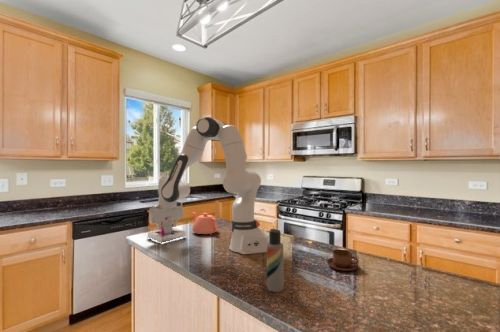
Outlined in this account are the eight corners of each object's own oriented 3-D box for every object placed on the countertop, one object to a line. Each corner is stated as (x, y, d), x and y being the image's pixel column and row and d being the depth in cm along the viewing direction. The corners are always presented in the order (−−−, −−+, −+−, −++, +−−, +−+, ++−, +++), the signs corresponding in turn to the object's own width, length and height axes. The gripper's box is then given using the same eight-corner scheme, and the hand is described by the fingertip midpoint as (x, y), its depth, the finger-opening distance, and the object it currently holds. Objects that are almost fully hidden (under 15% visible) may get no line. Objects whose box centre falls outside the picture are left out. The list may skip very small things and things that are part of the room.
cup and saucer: (356, 263, 110) (356, 248, 110) (360, 275, 98) (360, 258, 98) (326, 260, 113) (326, 246, 113) (327, 271, 101) (327, 256, 101)
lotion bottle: (273, 282, 92) (272, 226, 92) (286, 287, 88) (286, 229, 88) (263, 288, 87) (263, 230, 87) (277, 294, 84) (277, 232, 84)
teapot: (183, 232, 161) (182, 212, 161) (201, 227, 173) (201, 209, 173) (207, 238, 148) (207, 216, 148) (225, 232, 160) (225, 212, 160)
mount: (171, 234, 158) (171, 226, 158) (185, 238, 148) (185, 230, 148) (147, 239, 146) (147, 231, 146) (161, 244, 137) (161, 235, 137)
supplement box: (172, 234, 151) (172, 215, 151) (172, 237, 145) (171, 217, 145) (162, 235, 149) (161, 215, 149) (161, 238, 143) (161, 217, 143)
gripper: (152, 207, 137) (152, 233, 137) (184, 202, 152) (185, 225, 153) (146, 206, 141) (146, 231, 141) (178, 201, 157) (179, 224, 157)
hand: (166, 228), depth 147 cm, fingers closed on supplement box, 8 cm apart
